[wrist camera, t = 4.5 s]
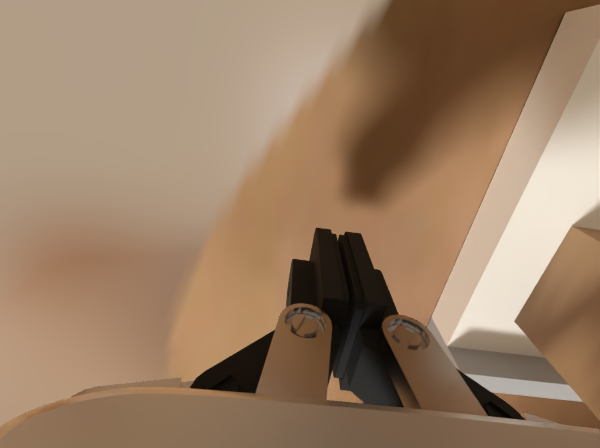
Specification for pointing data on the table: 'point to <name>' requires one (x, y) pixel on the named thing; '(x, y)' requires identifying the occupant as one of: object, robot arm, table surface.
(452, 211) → the table surface
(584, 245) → the walnut block
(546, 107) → the trap board
